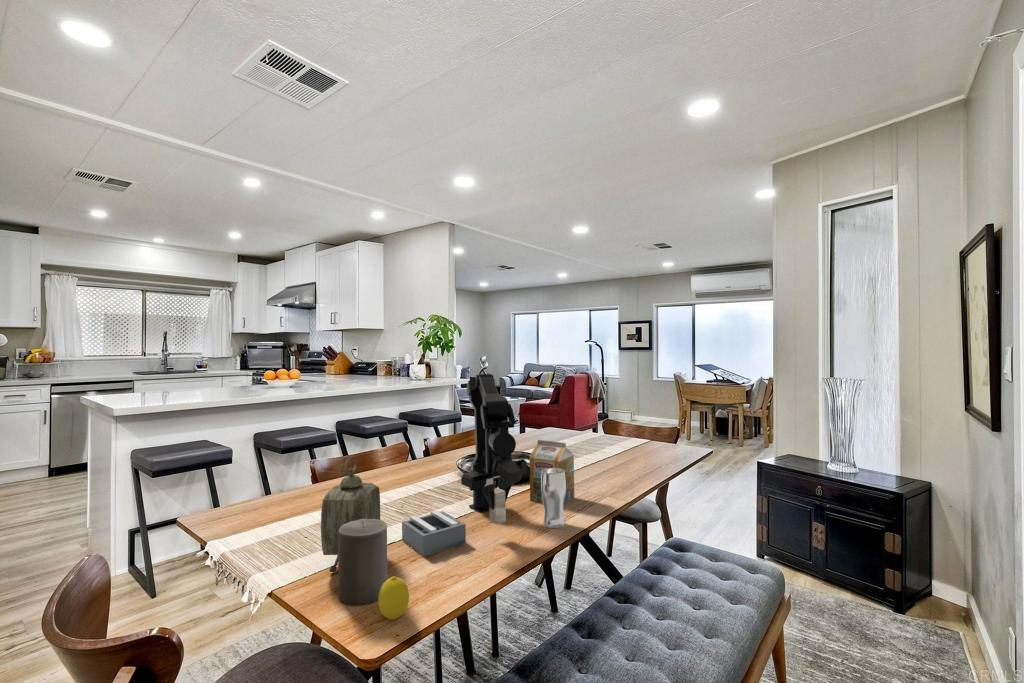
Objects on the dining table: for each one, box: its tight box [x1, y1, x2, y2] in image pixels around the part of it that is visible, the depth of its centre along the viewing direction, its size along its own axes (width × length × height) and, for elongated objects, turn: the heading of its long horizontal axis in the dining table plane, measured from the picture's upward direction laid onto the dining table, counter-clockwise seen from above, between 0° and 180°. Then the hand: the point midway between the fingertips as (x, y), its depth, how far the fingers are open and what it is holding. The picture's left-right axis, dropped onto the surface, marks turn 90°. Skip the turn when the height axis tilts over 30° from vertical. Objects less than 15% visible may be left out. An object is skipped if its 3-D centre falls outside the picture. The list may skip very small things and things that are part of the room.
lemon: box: [377, 575, 410, 621], centre depth 87 cm, size 6×6×8 cm
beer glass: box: [541, 468, 566, 529], centre depth 132 cm, size 7×7×15 cm
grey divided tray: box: [401, 509, 467, 558], centre depth 121 cm, size 12×12×6 cm
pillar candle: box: [337, 519, 388, 607], centre depth 97 cm, size 10×10×15 cm
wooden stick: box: [489, 487, 507, 525], centre depth 122 cm, size 3×3×8 cm
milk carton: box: [528, 439, 575, 504], centre depth 153 cm, size 11×11×19 cm
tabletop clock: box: [320, 455, 381, 573], centre depth 111 cm, size 14×9×25 cm, turn 178°
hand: (497, 507), depth 122 cm, fingers closed on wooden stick, 3 cm apart
